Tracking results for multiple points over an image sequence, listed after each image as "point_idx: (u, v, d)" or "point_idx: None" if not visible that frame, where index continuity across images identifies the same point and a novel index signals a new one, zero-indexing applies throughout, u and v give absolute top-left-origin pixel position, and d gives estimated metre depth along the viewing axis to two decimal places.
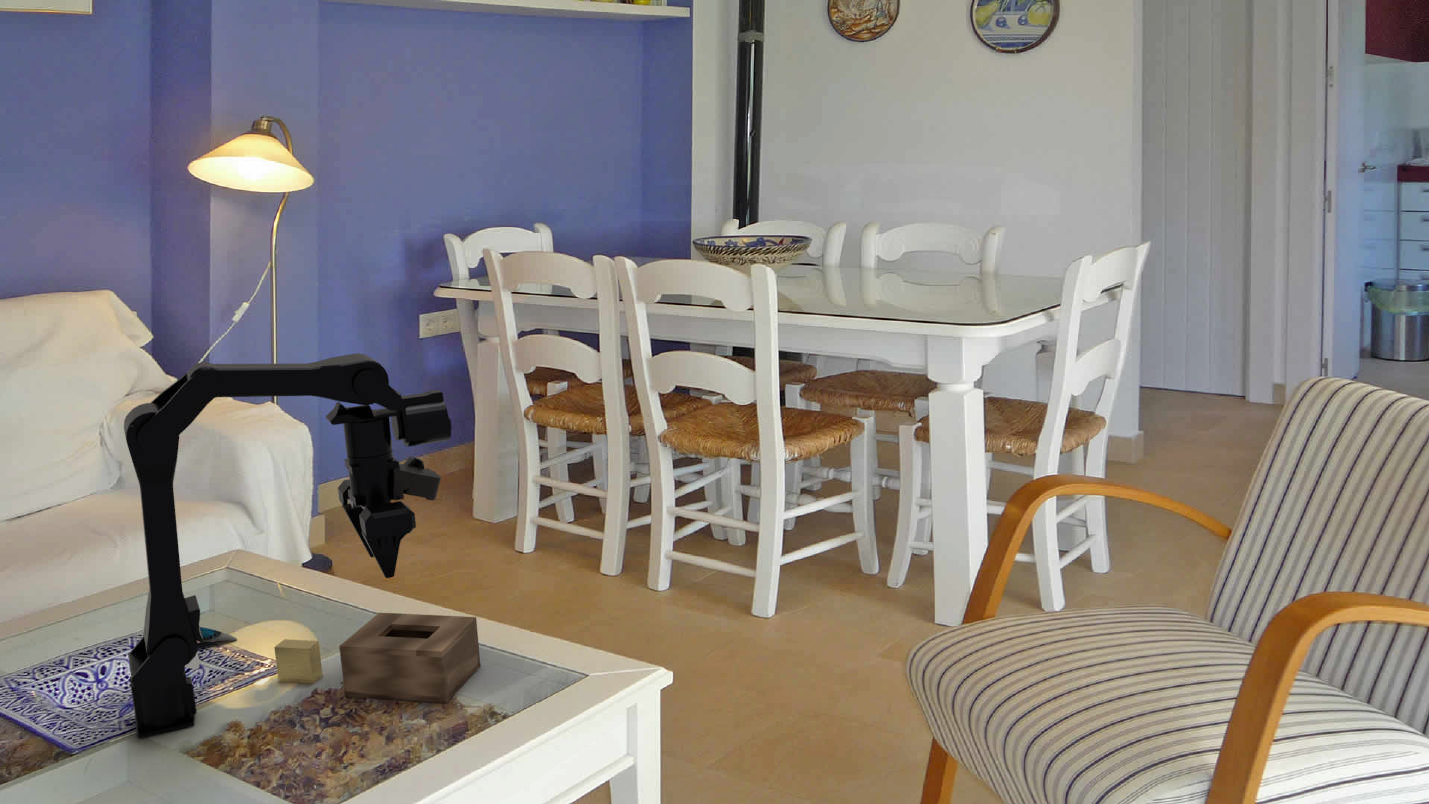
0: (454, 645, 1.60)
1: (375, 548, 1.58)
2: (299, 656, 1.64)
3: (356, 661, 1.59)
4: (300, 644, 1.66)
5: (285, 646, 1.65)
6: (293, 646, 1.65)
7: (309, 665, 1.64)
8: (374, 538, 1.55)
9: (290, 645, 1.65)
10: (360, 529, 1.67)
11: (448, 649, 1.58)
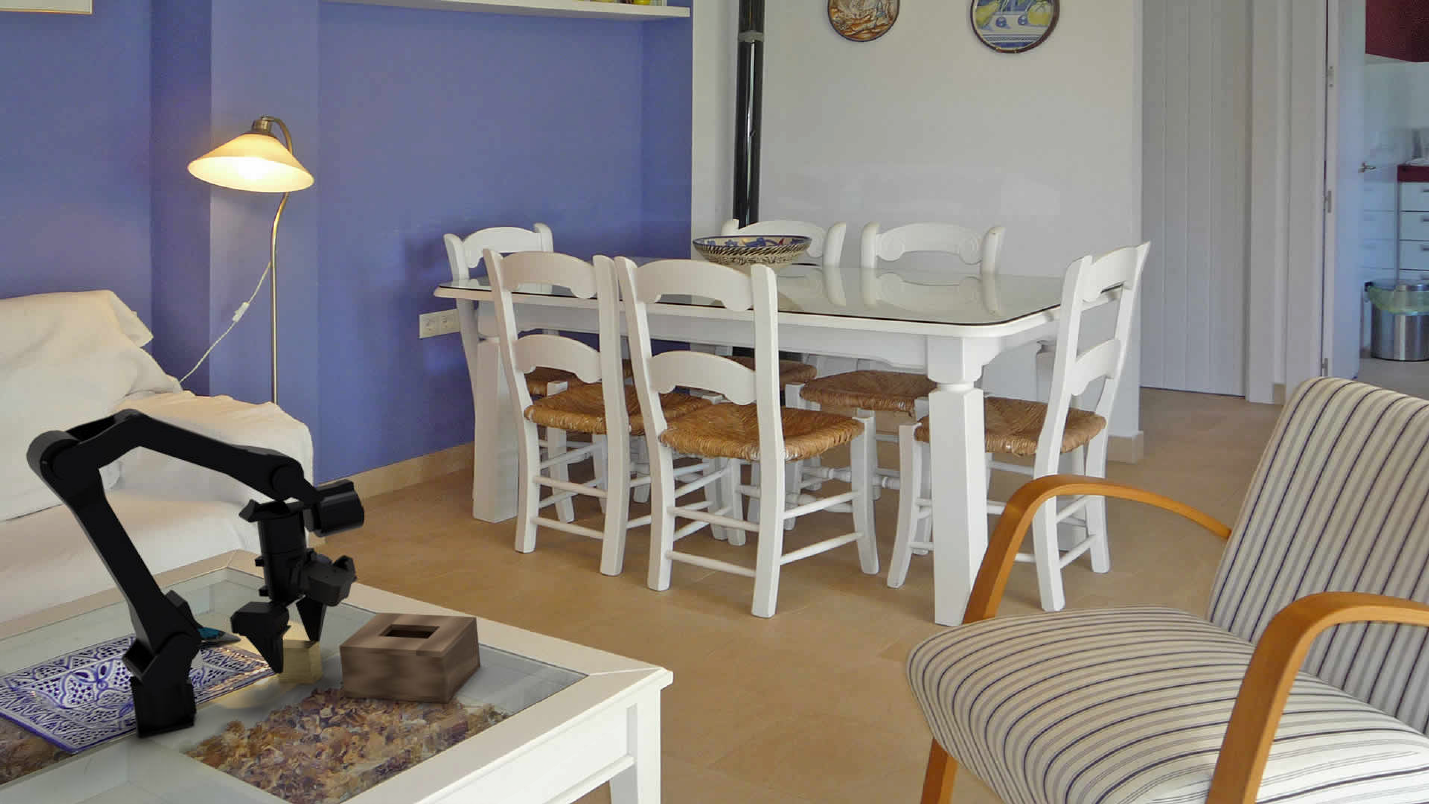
0: (454, 645, 1.60)
1: (255, 643, 1.59)
2: (299, 656, 1.64)
3: (356, 661, 1.59)
4: (300, 644, 1.65)
5: (285, 646, 1.65)
6: (293, 646, 1.65)
7: (309, 665, 1.64)
8: (243, 634, 1.57)
9: (290, 645, 1.65)
10: (303, 614, 1.70)
11: (448, 649, 1.58)
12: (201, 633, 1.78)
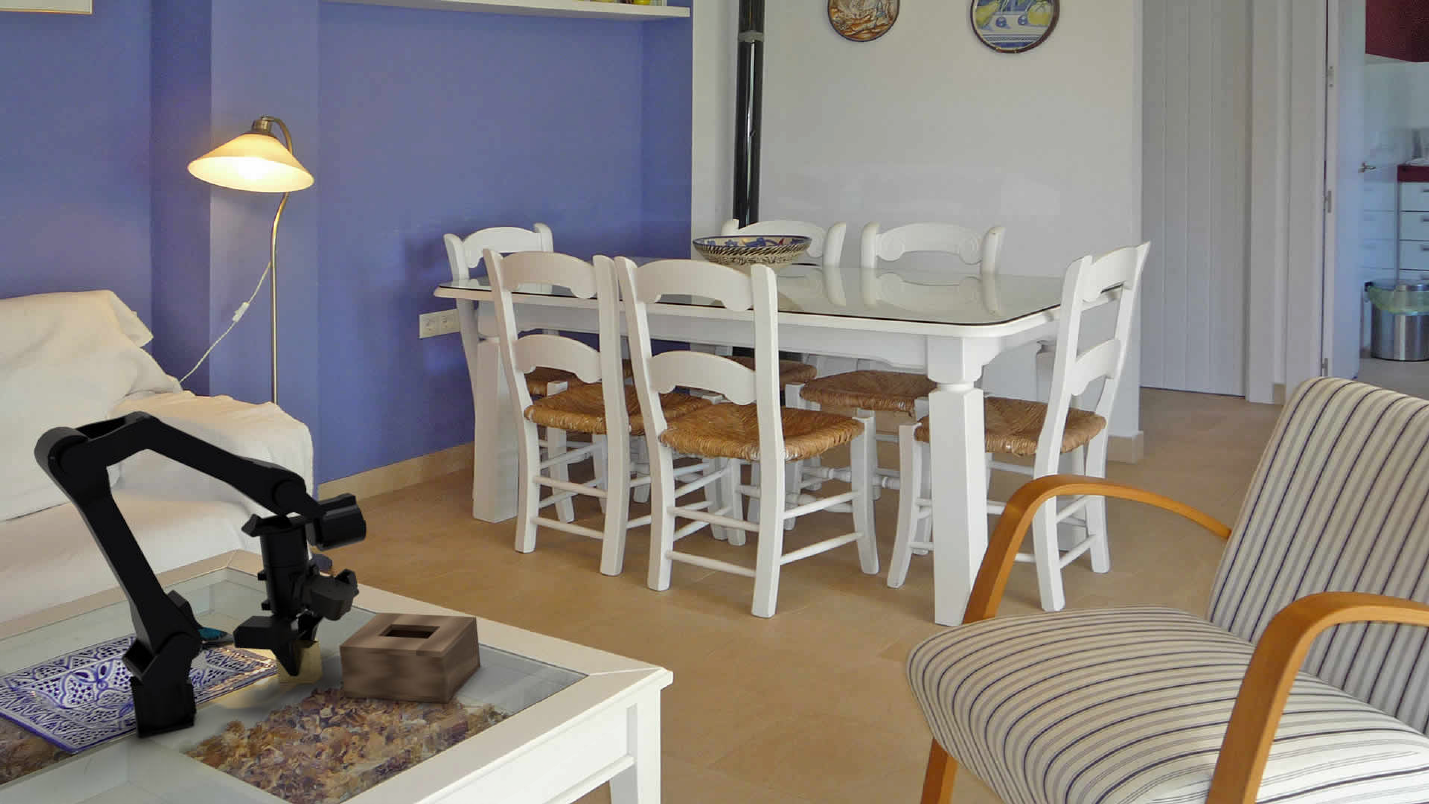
0: (454, 645, 1.60)
1: None
2: (299, 656, 1.64)
3: (356, 661, 1.59)
4: (300, 643, 1.65)
5: None
6: None
7: (309, 664, 1.64)
8: None
9: None
10: None
11: (448, 649, 1.58)
12: (203, 634, 1.78)
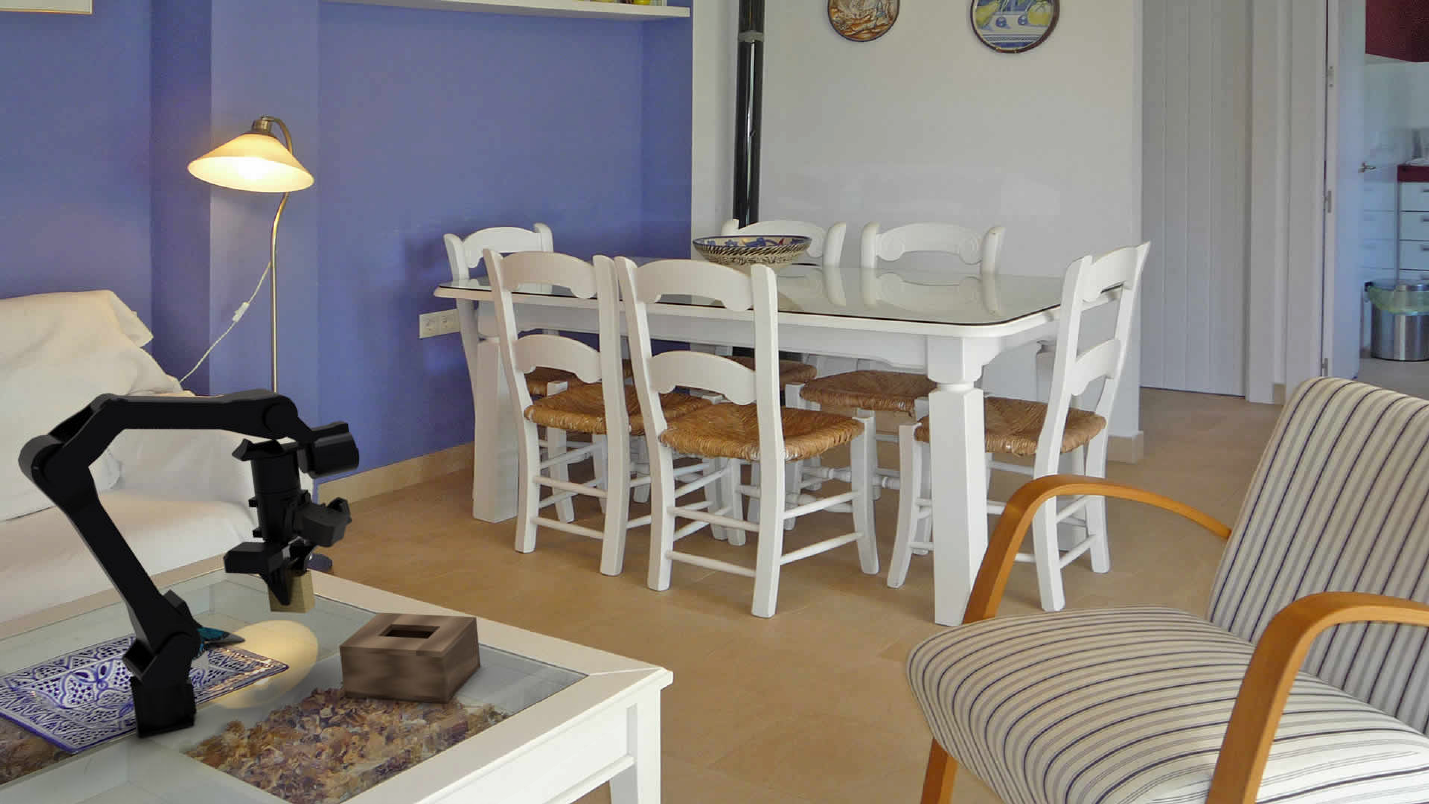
0: (454, 645, 1.60)
1: (263, 575, 1.61)
2: (291, 585, 1.62)
3: (356, 661, 1.59)
4: (292, 572, 1.63)
5: None
6: None
7: (302, 593, 1.62)
8: None
9: None
10: None
11: (448, 649, 1.58)
12: (205, 634, 1.78)
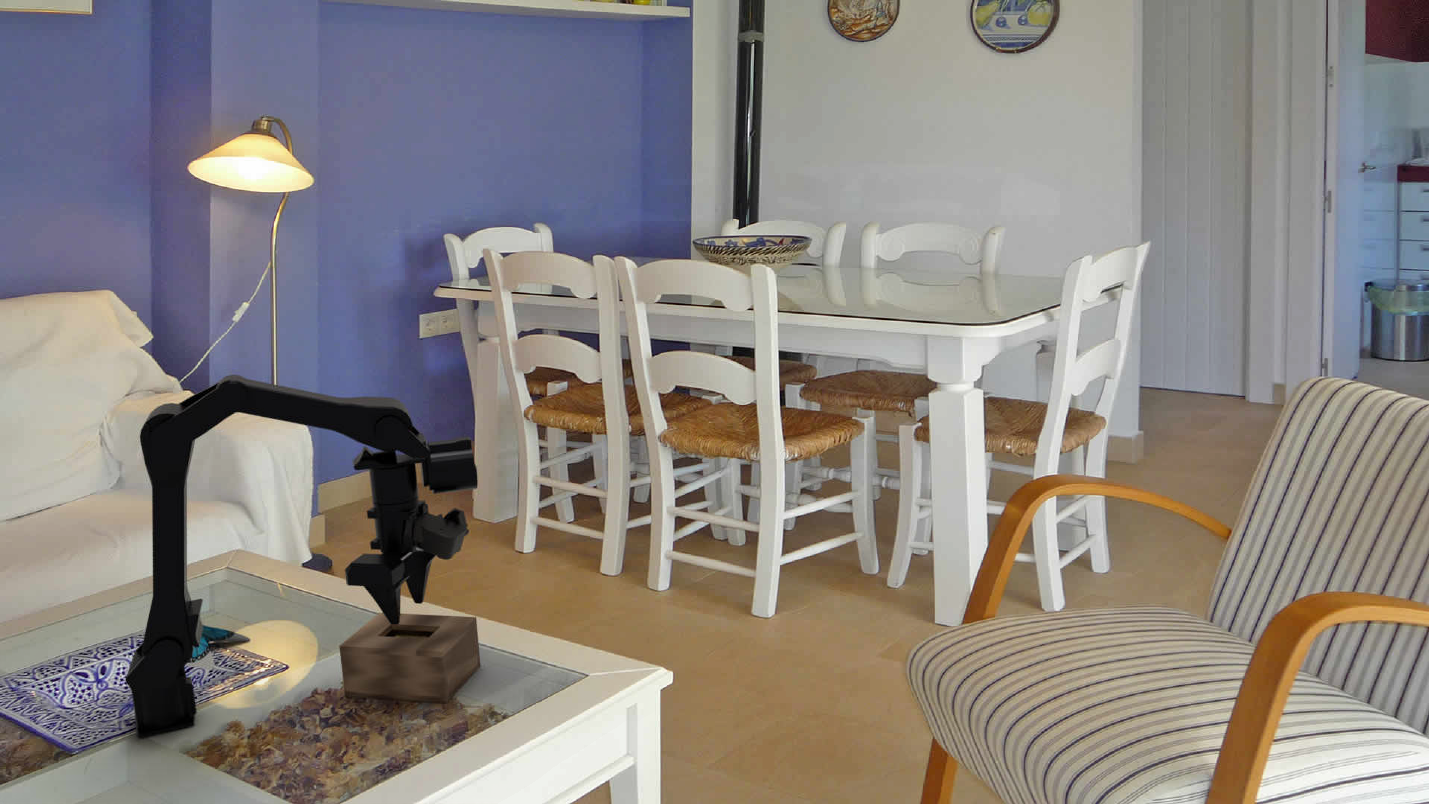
0: (454, 645, 1.60)
1: (373, 593, 1.57)
2: None
3: (356, 661, 1.59)
4: None
5: None
6: None
7: None
8: None
9: None
10: (406, 573, 1.65)
11: (448, 649, 1.58)
12: (210, 634, 1.78)
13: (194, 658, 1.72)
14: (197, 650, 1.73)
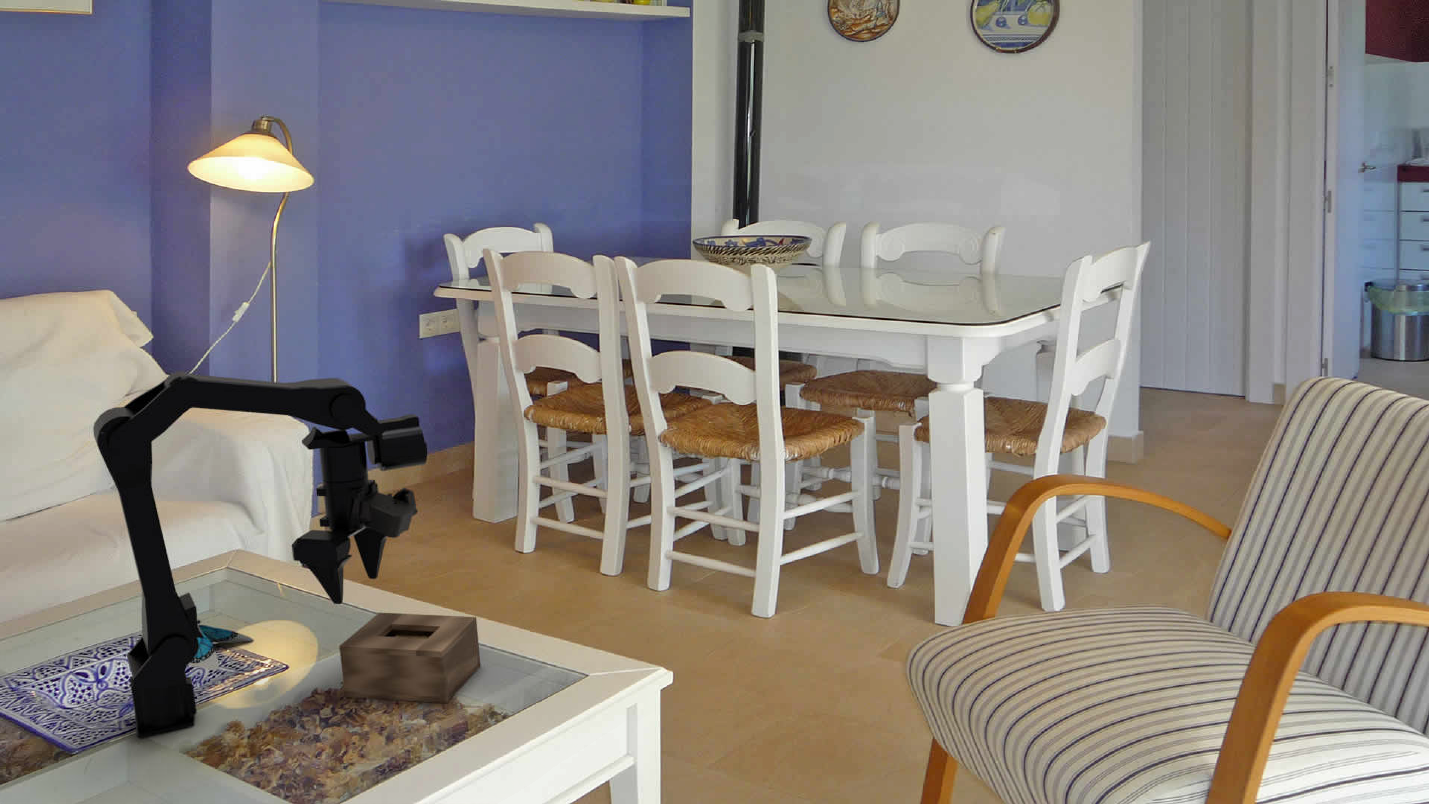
0: (454, 645, 1.60)
1: (316, 572, 1.59)
2: None
3: (356, 661, 1.59)
4: None
5: None
6: None
7: None
8: (304, 562, 1.56)
9: None
10: (361, 549, 1.69)
11: (448, 649, 1.58)
12: (213, 634, 1.78)
13: (198, 659, 1.72)
14: (201, 650, 1.73)
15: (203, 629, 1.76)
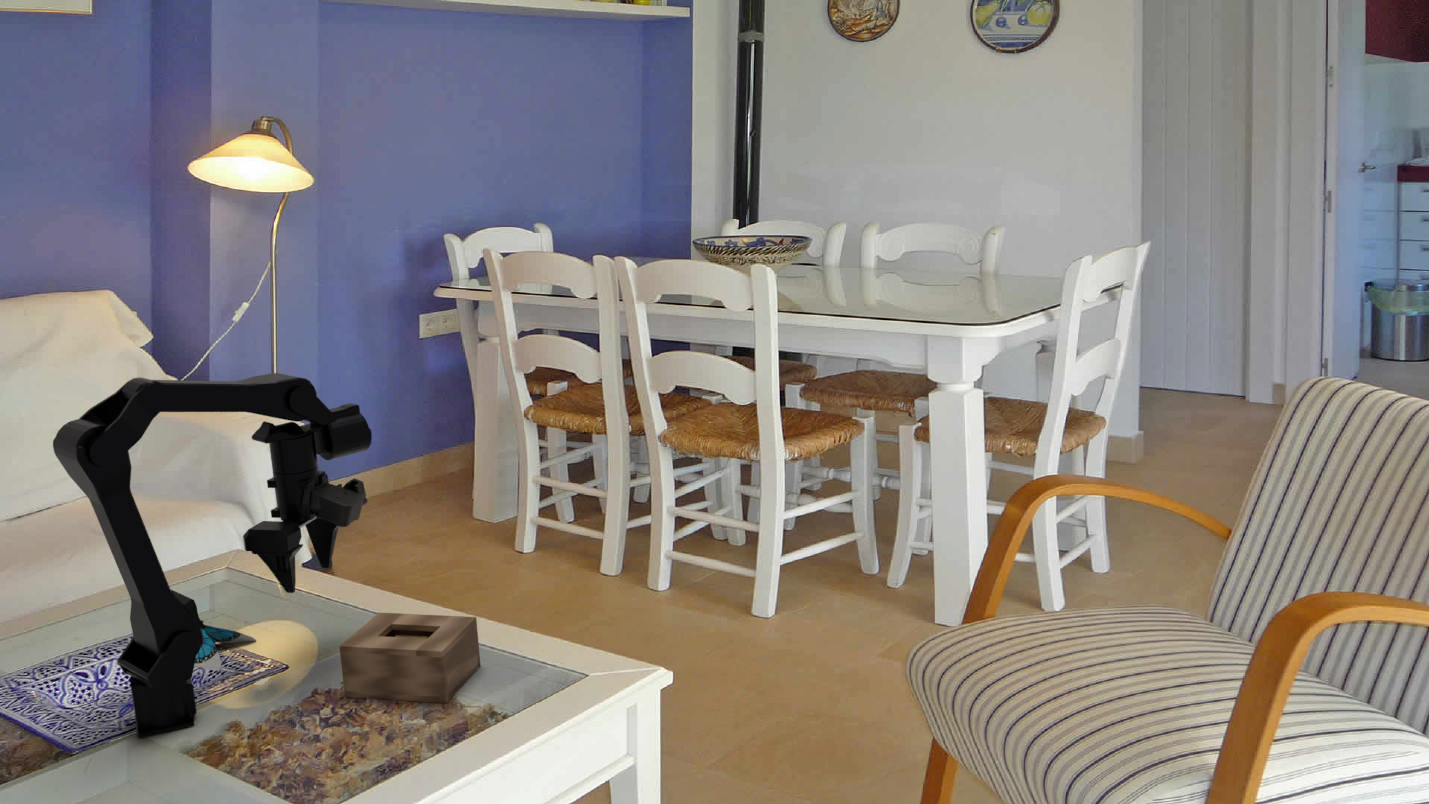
0: (454, 645, 1.60)
1: (268, 562, 1.62)
2: None
3: (356, 661, 1.59)
4: None
5: None
6: None
7: None
8: (256, 553, 1.60)
9: None
10: (314, 539, 1.73)
11: (448, 649, 1.58)
12: (216, 634, 1.78)
13: (201, 659, 1.72)
14: (204, 650, 1.72)
15: (206, 629, 1.76)
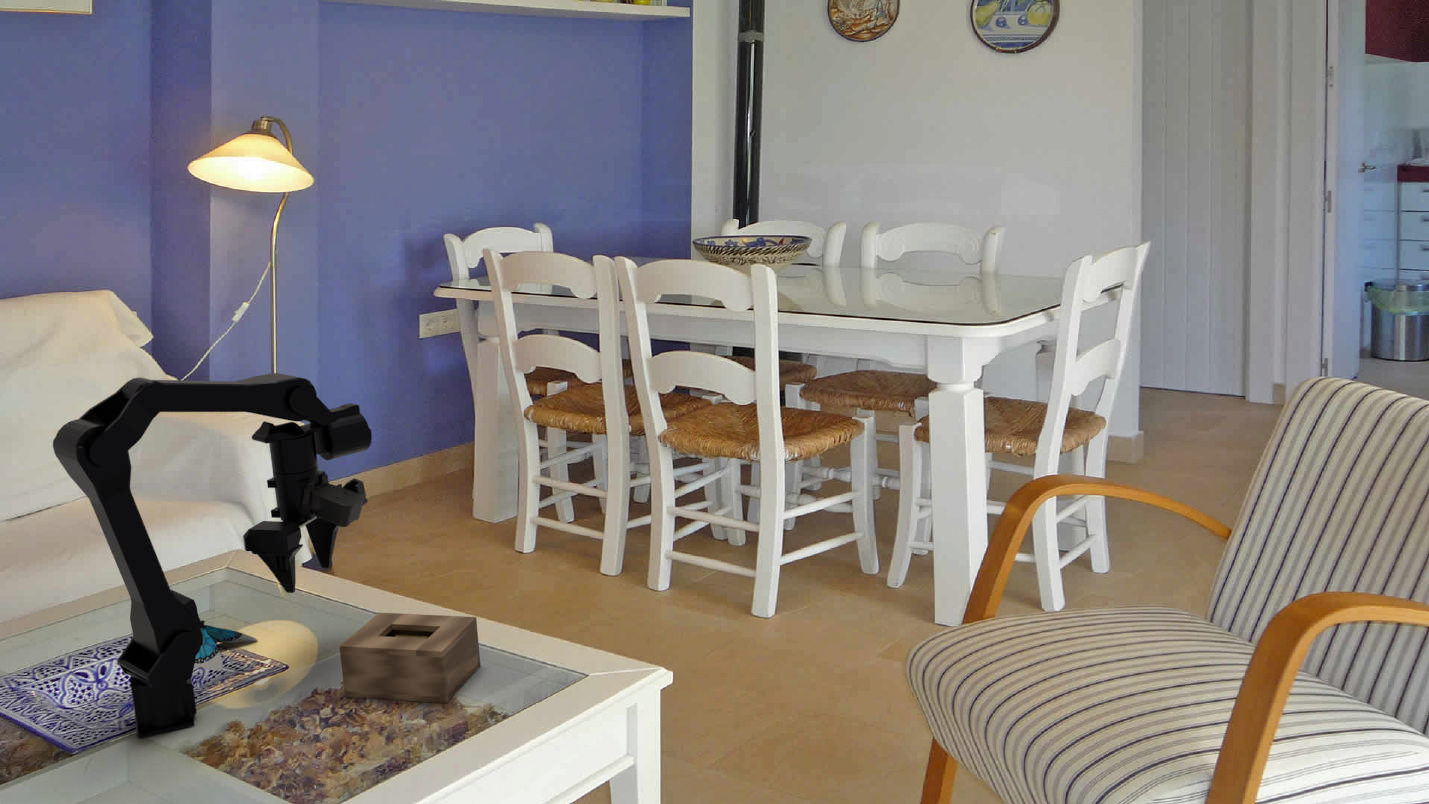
0: (454, 645, 1.60)
1: (268, 562, 1.62)
2: None
3: (356, 661, 1.59)
4: None
5: None
6: None
7: None
8: (256, 553, 1.60)
9: None
10: (314, 539, 1.73)
11: (448, 649, 1.58)
12: (217, 635, 1.77)
13: (202, 659, 1.72)
14: (205, 650, 1.72)
15: (207, 629, 1.76)
